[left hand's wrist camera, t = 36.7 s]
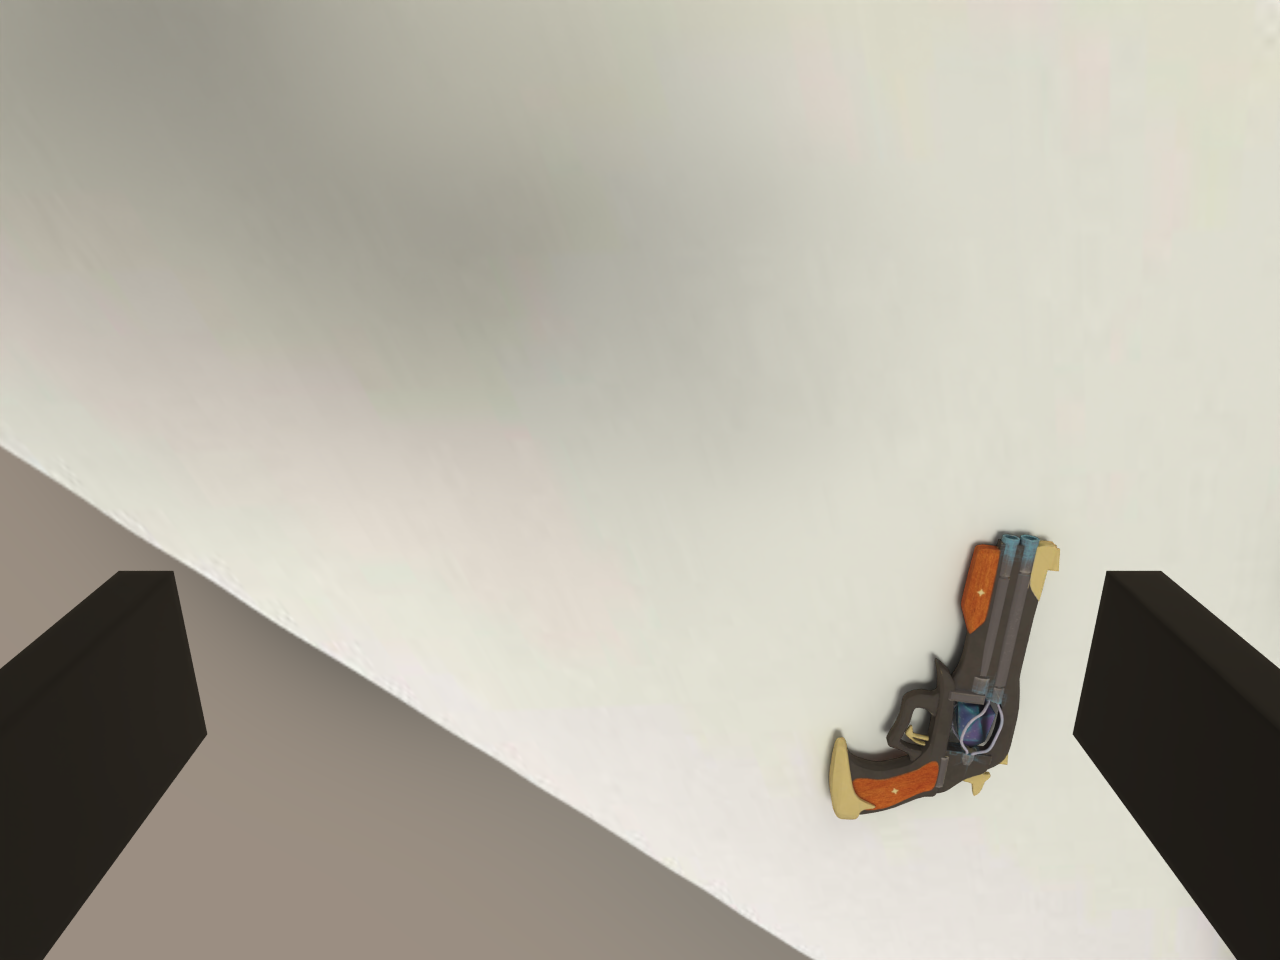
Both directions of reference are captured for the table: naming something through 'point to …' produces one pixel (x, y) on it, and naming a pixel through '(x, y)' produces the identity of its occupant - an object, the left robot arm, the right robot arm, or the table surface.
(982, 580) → the toy gun
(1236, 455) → the table surface
